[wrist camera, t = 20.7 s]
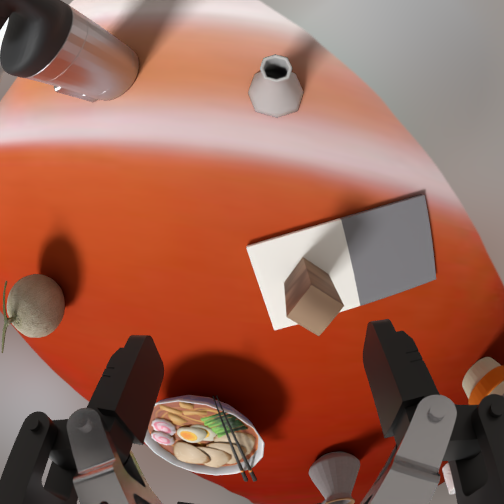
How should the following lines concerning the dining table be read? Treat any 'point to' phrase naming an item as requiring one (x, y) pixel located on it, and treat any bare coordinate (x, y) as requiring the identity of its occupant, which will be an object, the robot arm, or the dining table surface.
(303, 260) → the block
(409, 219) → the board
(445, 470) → the white cup
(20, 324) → the fruit
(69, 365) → the dining table surface
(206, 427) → the ramen bowl
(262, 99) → the flask
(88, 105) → the dining table surface
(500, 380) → the reusable coffee cup
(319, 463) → the coffee pot
